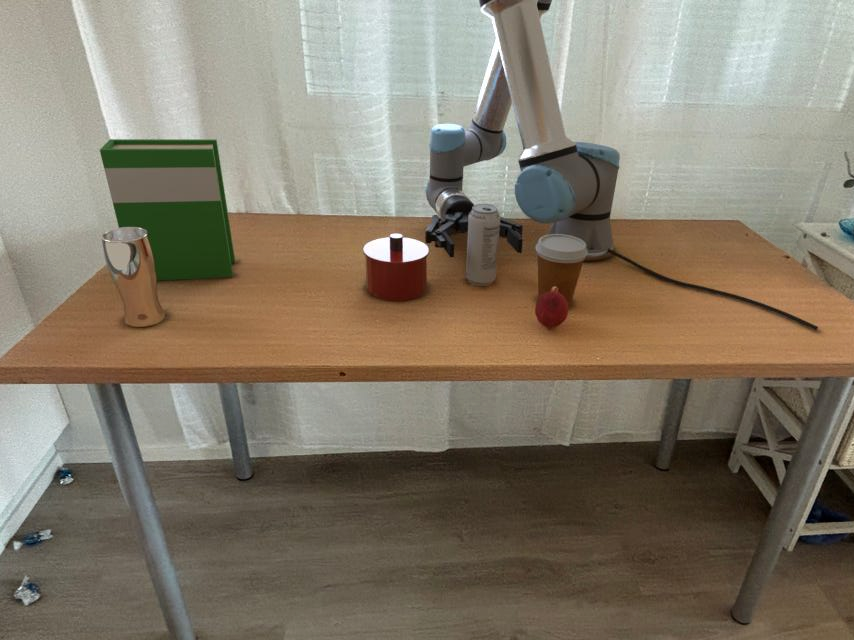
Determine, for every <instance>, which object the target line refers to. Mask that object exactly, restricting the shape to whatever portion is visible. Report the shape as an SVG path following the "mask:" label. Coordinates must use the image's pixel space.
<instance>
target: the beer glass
mask: <svg viewBox="0 0 854 640" xmlns="http://www.w3.org/2000/svg"><path fill="white" fill-rule="evenodd" d="M100 239H101V244H102V250H103V255H104V258H105V259H104V260H105V263H106V267H107V270H108V272H109V275H110V277H111V279H112V281H113V283H114V286H115V288H116V289H117V292H118V294H119V296H120V298H121V300H122V305H123V311H124V322H125V324H126V325H127V326H129V327H133V328H147V327H151V326H155V325H158V324H159V323H161V322H162V321H164V319H165V317H166V315H165V312H164V309H163V306H162V305H161V303H160V300H159V296H158V280H157V270H156V261H155V256H154V252H153V248H152V245H151V242H150V239H149V236H148V232H147V230H145V229H143V228H140V227H121V228H119V227H115V228H112V229H109V230H106V231H104V232H103V233H102V234H101V235H100Z"/></svg>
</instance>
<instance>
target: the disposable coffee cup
mask: <svg viewBox="0 0 854 640" xmlns="http://www.w3.org/2000/svg"><path fill="white" fill-rule="evenodd" d="M535 251H536V255H537V296H538V297H537V300H538V299H539V298H540V297H541V296H542V295H543V294H545V293H547V292H549V291H550V290H551V289H552V287H554V286H556V287H557V288H559V289H558V292H559V293H561V294H562V295H563V296H564V297H565V299H566V301H567V303H568V307H569V308H570V306H571V305H572V302H573V298H574V294H575V291H576V288H577V285H578V281H579V278H580V275H581V270H582V267H583V263H584V262H585V261H584V259H585V257H586V256H587V254H588V251H587V249H586V243H585V242H584V241H583V240H581V239H579V238H577V237H574V236H570V235H564V234H550V235H547V234H546V235H543V236H542V235H541V237H540V238H539V239H538V242H537V243H536V244H535Z"/></svg>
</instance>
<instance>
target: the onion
mask: <svg viewBox="0 0 854 640" xmlns="http://www.w3.org/2000/svg"><path fill="white" fill-rule="evenodd" d="M558 289H559V288H557V287H556V286H554V287H552V289H551V290H550V291H549V292H547V293H545V294H543V295H542V296H541V297H540V298H539V299H538V298H537V301H536V304H535V307H534V315H535V317H536V320H537V321H538V323H540V324H541V326H543V327H544V328H546V329H548V330H551V329H554V328H556V327H559V326H560V325H562V324H563V323H564V322H565V321H566V320H567V318H568V316H569V308H570V306H569V307H568V303H567V301H566V299H565V297H564V296H563V295H562V294H561V293H559V292H558Z"/></svg>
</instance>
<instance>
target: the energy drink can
mask: <svg viewBox="0 0 854 640" xmlns="http://www.w3.org/2000/svg"><path fill="white" fill-rule="evenodd" d="M500 217H501V215H500V213H499V208H498V207H497V206H496V205H494V204H493V205H492V204H488V203H478V204H474V206H473V207H472V211H471V213H470V214H469V220H468V232H467V241H466V242H467V243H466V261H465V262H466V264H465V278H466V279H467V280H468V283H469V284H470V285H473V286H477V287H488V286H490V285H492V284H493V282H494V281H495V280H496V279H497V269H498V256H499V255H498V254H499V244H500V243H499V241H500V236H499V230H500Z"/></svg>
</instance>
